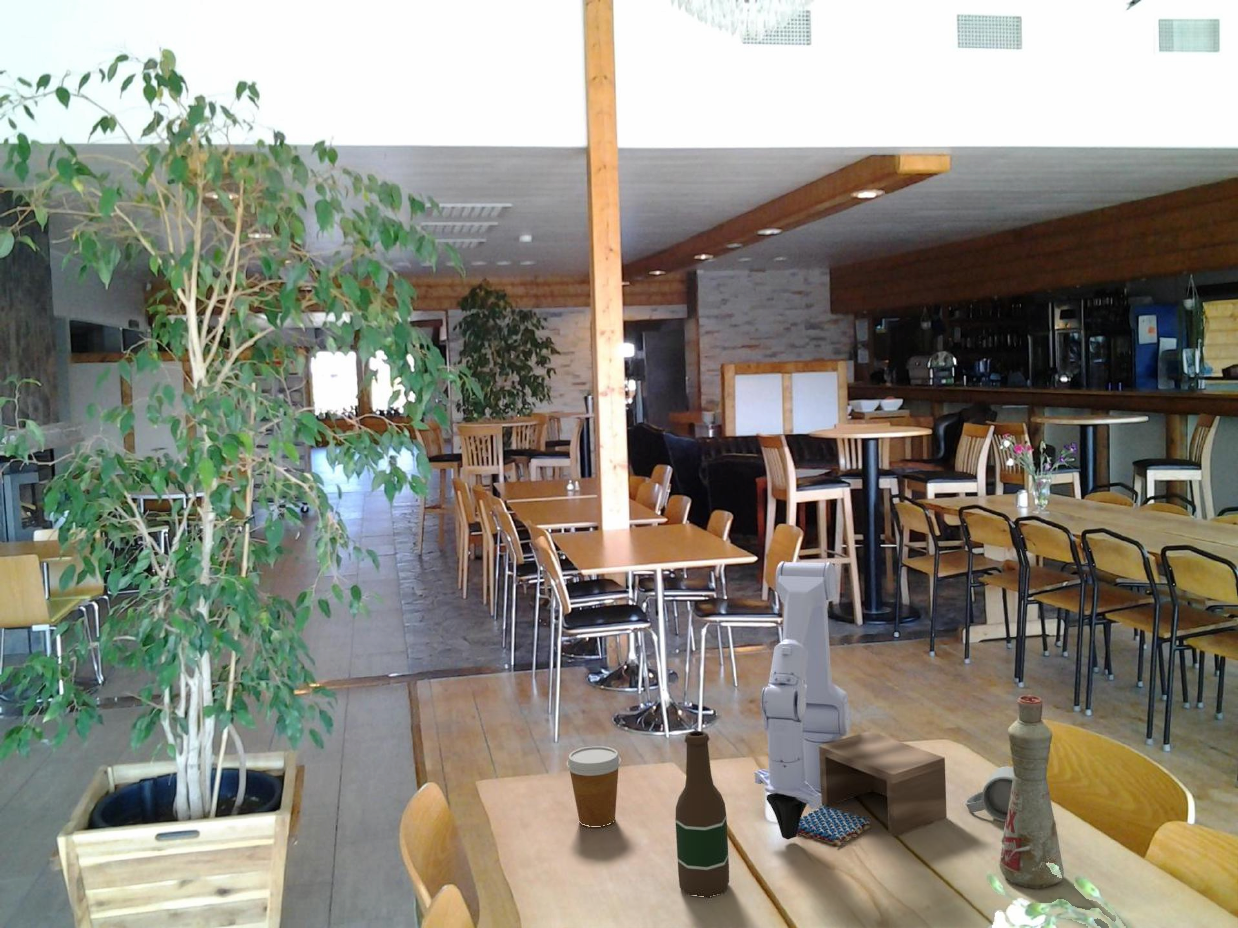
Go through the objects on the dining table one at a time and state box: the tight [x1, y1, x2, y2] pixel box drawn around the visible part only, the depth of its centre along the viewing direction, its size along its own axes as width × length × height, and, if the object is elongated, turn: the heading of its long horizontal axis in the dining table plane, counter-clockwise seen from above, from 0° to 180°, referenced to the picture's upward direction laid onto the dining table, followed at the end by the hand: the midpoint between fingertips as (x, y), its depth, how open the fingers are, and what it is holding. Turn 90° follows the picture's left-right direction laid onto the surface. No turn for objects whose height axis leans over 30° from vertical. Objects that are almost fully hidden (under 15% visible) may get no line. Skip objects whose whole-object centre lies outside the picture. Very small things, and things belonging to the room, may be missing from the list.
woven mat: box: [797, 804, 872, 847], centre depth 194 cm, size 10×11×2 cm
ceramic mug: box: [965, 765, 1014, 823], centre depth 196 cm, size 11×8×8 cm
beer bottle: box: [674, 730, 730, 898], centre depth 174 cm, size 8×8×24 cm
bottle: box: [998, 694, 1065, 889], centre depth 171 cm, size 9×9×28 cm
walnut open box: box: [819, 730, 948, 837], centre depth 199 cm, size 18×12×10 cm, turn 32°
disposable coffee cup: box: [566, 745, 622, 826], centre depth 202 cm, size 10×10×12 cm
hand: (789, 836), depth 189 cm, fingers closed
